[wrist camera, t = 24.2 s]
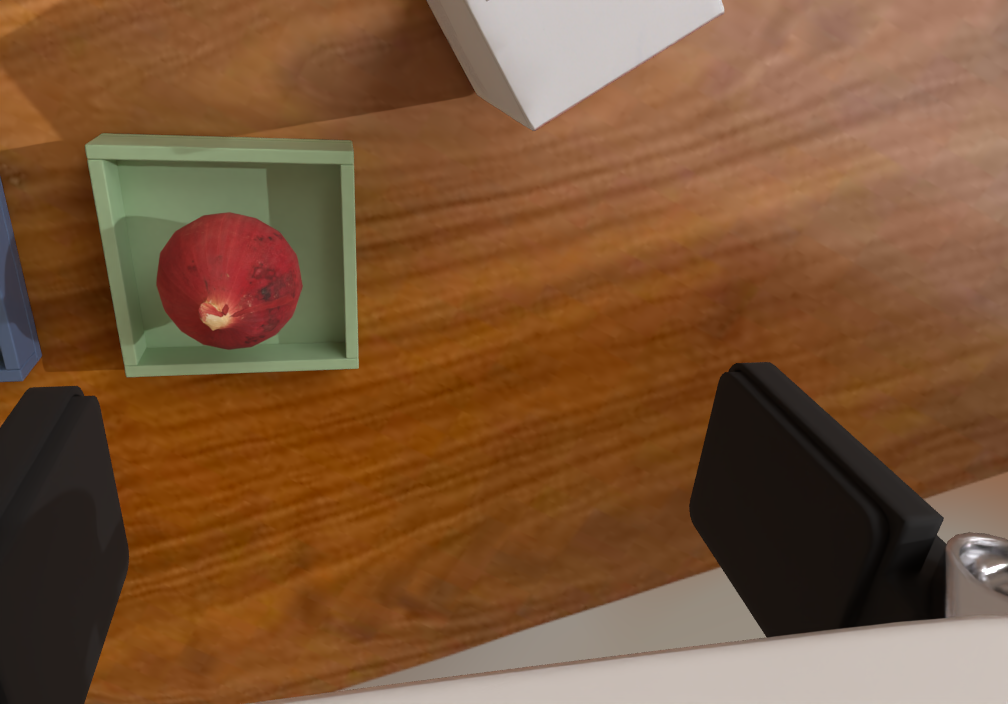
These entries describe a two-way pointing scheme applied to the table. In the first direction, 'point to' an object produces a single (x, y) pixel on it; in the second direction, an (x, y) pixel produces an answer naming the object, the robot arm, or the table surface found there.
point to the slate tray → (14, 308)
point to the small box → (560, 46)
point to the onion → (229, 280)
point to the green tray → (220, 189)
